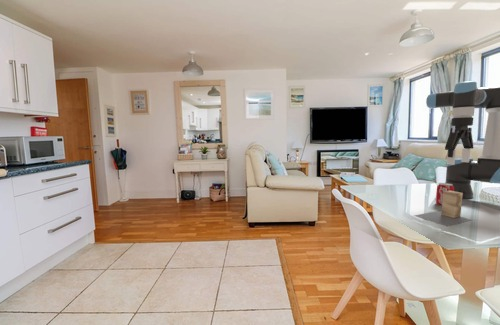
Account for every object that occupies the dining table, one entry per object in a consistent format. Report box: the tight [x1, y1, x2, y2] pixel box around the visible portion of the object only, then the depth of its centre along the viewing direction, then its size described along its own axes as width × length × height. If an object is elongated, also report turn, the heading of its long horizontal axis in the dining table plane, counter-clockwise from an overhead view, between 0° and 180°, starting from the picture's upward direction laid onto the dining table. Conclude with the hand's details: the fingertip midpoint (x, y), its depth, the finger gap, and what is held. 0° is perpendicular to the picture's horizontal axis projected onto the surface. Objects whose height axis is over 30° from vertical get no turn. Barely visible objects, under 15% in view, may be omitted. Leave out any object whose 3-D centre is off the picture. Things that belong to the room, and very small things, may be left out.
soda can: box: [435, 182, 454, 207], centre depth 127 cm, size 7×7×12 cm
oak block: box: [441, 191, 463, 219], centre depth 110 cm, size 5×5×11 cm
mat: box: [413, 210, 473, 227], centre depth 108 cm, size 18×14×1 cm
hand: (458, 163), depth 111 cm, fingers open, 13 cm apart
